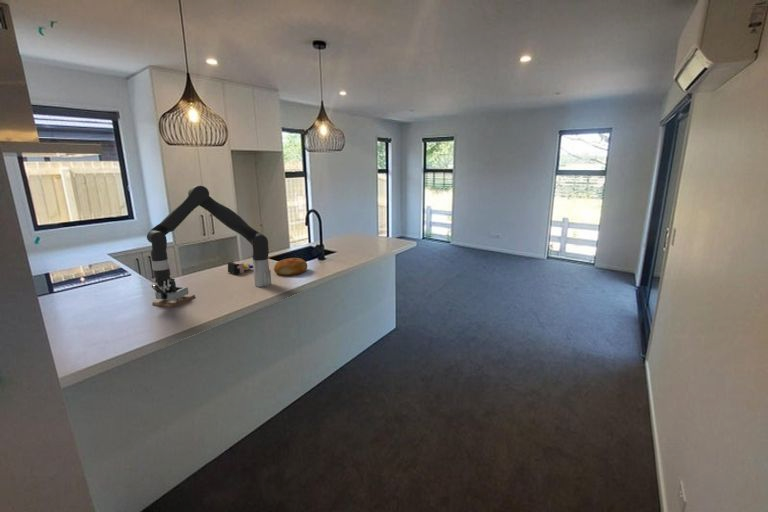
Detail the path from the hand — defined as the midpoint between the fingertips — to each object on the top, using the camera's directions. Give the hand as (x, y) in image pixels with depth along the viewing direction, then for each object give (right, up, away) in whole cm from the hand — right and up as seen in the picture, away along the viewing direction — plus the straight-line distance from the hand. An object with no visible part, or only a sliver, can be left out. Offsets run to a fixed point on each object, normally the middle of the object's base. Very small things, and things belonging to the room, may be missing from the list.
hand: (165, 298), depth 185 cm
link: (+1, +1, +5) cm, 5 cm away
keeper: (+1, -2, +7) cm, 7 cm away
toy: (+15, +11, +61) cm, 63 cm away
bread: (+51, +11, +62) cm, 81 cm away
